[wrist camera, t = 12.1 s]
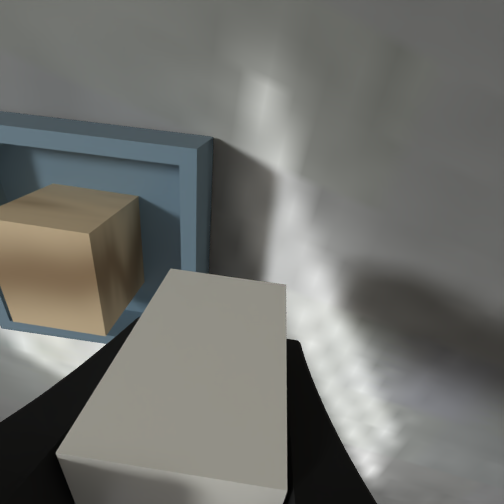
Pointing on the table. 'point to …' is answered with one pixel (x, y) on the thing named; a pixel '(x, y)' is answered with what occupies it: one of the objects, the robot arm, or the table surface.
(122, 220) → the oak block
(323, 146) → the table surface
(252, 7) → the table surface
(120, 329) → the tote
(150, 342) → the cream carton
